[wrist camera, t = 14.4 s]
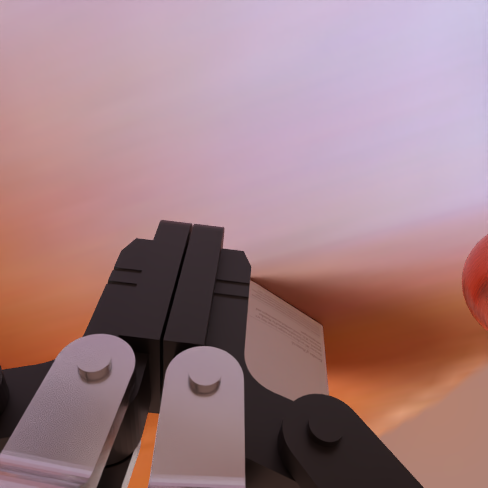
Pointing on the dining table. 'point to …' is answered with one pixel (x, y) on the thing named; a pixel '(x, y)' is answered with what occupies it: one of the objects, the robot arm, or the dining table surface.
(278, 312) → the supplement box
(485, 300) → the lever
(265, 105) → the dining table surface
